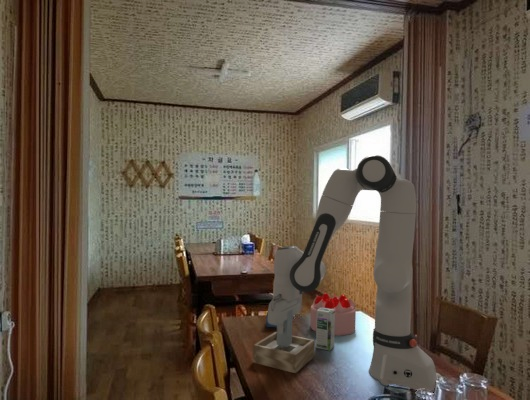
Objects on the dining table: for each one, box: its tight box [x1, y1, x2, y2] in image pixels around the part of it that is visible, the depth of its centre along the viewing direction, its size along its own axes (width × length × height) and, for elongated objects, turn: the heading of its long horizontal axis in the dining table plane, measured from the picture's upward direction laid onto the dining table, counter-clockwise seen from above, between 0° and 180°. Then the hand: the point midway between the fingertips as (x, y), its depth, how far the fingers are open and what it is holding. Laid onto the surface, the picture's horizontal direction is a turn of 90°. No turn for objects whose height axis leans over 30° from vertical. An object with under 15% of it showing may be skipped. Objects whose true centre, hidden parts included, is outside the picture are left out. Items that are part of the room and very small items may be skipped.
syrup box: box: [315, 308, 335, 352], centre depth 150 cm, size 6×6×14 cm
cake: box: [309, 292, 357, 337], centre depth 172 cm, size 20×20×14 cm
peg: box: [276, 310, 294, 347], centre depth 137 cm, size 4×4×12 cm
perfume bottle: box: [265, 297, 277, 329], centre depth 175 cm, size 6×6×12 cm
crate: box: [252, 331, 316, 374], centre depth 137 cm, size 16×16×6 cm
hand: (284, 331), depth 137 cm, fingers closed on peg, 4 cm apart
